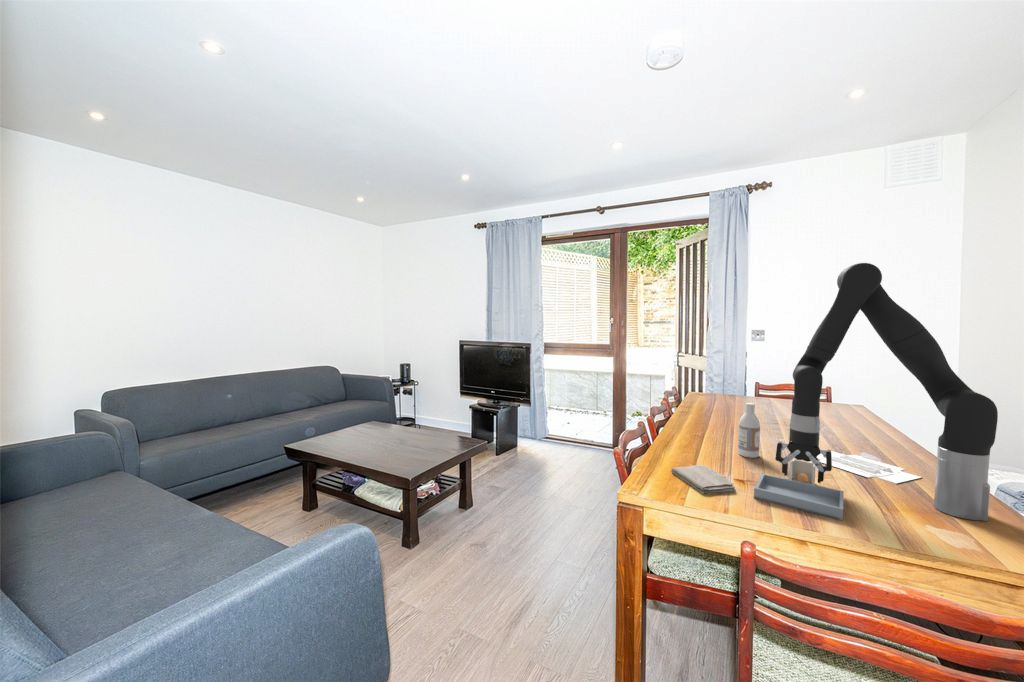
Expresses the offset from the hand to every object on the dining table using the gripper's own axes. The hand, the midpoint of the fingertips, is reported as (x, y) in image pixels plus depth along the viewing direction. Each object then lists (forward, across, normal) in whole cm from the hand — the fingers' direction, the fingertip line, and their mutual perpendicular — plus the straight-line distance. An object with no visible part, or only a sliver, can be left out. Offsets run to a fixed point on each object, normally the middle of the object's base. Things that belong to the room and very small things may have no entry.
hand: (802, 478), depth 125 cm
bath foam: (+2, +18, -19) cm, 26 cm away
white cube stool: (+2, 0, 0) cm, 2 cm away
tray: (+2, 0, +14) cm, 14 cm away
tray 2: (+3, -14, -32) cm, 35 cm away
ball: (0, 0, +1) cm, 1 cm away
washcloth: (+3, +25, +18) cm, 31 cm away
